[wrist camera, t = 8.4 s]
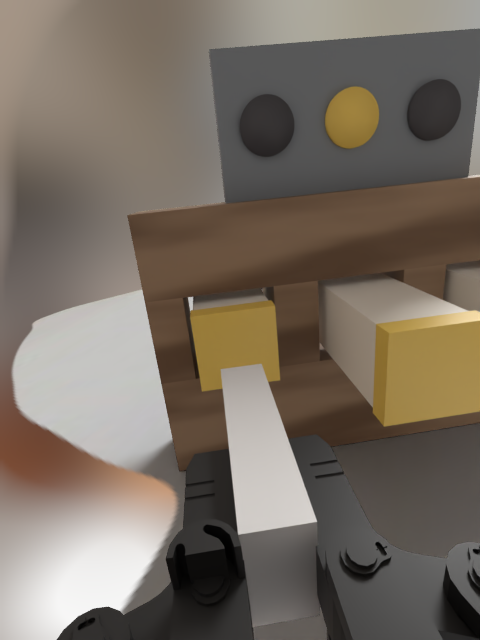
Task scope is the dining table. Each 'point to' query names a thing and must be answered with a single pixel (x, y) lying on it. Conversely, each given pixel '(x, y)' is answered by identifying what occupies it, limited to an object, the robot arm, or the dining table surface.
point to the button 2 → (463, 285)
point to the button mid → (401, 347)
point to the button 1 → (234, 334)
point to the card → (345, 113)
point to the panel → (295, 293)
